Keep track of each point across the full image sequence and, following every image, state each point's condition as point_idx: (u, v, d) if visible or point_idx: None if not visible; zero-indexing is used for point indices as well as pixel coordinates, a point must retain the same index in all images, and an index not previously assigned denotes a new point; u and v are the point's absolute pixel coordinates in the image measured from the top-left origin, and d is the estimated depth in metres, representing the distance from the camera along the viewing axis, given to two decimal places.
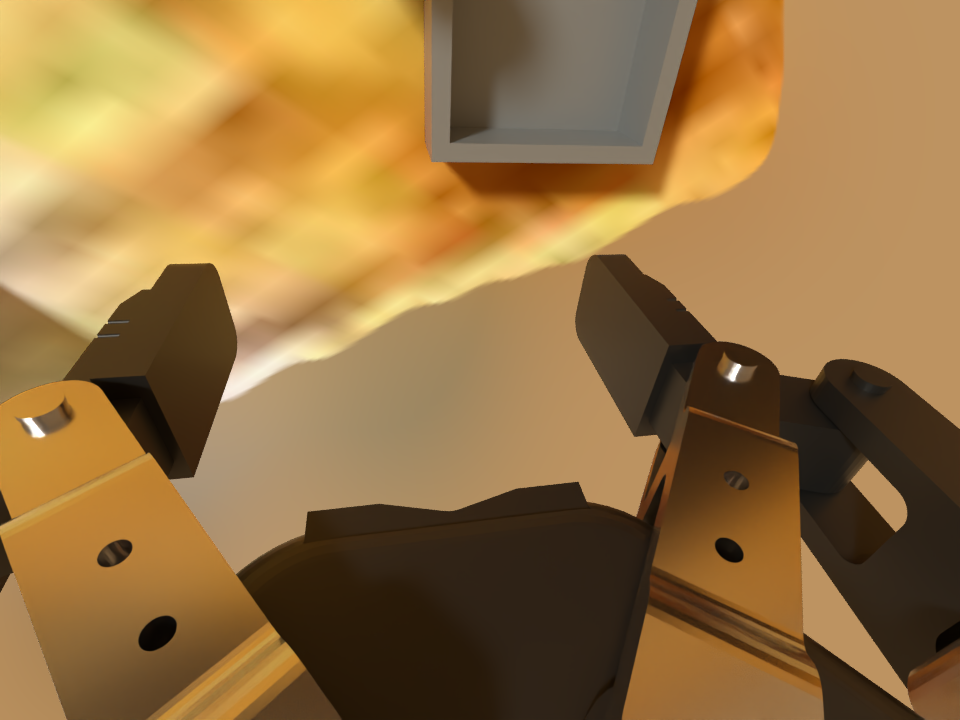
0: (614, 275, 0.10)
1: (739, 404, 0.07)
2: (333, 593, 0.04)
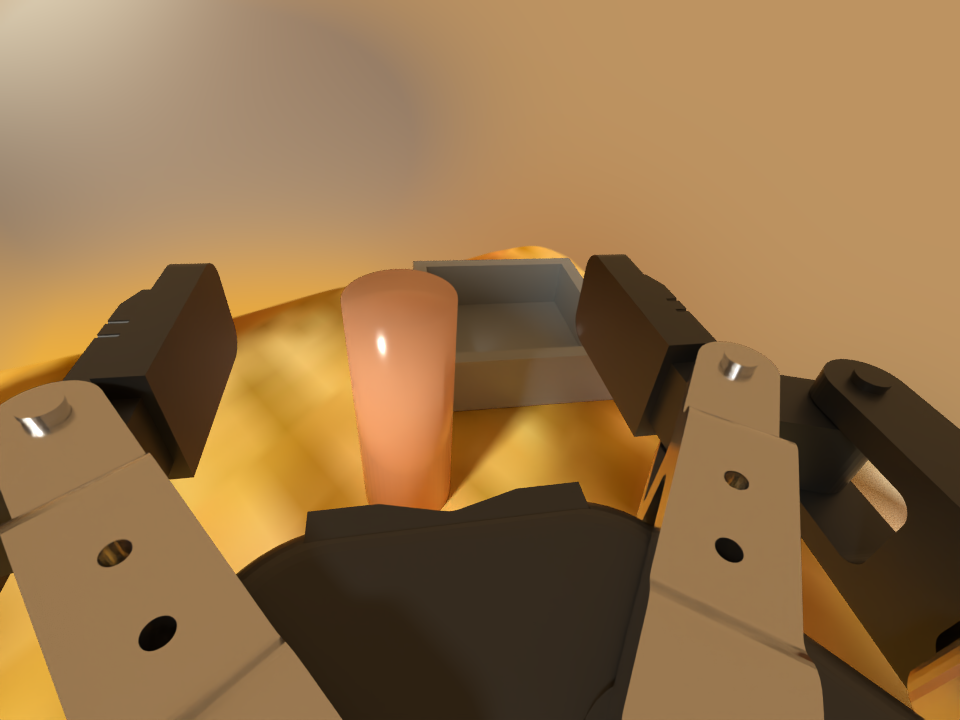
0: (614, 275, 0.10)
1: (739, 404, 0.07)
2: (333, 593, 0.04)
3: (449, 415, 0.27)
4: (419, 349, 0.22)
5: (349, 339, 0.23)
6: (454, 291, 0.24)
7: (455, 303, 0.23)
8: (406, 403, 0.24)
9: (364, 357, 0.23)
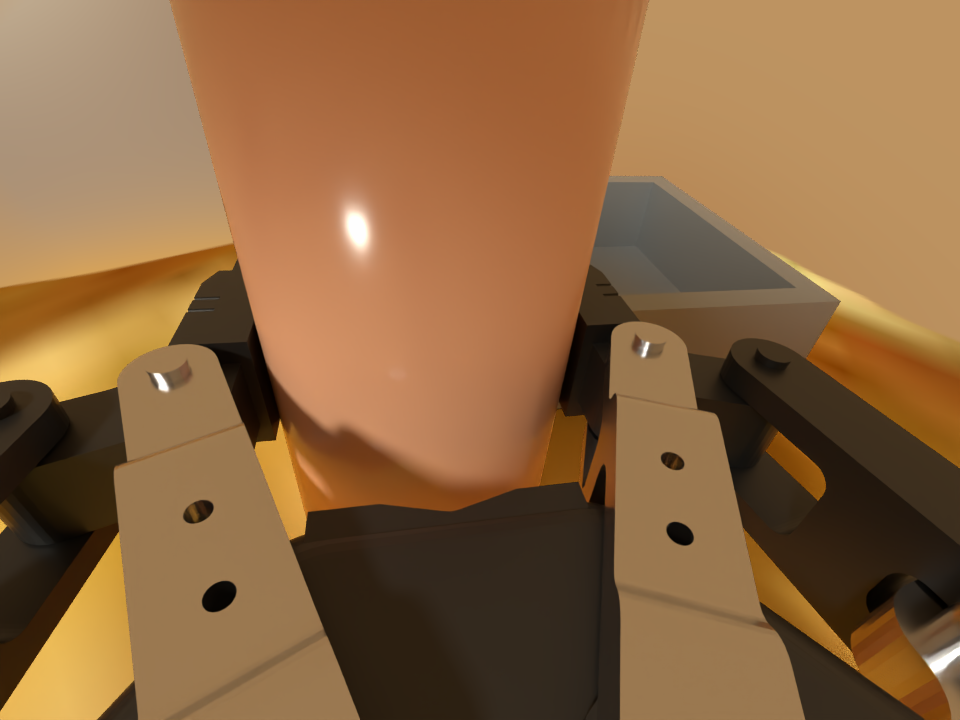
0: None
1: (640, 378, 0.07)
2: (333, 593, 0.04)
3: (553, 421, 0.09)
4: (519, 98, 0.05)
5: (198, 87, 0.05)
6: None
7: None
8: (441, 378, 0.06)
9: (256, 156, 0.05)
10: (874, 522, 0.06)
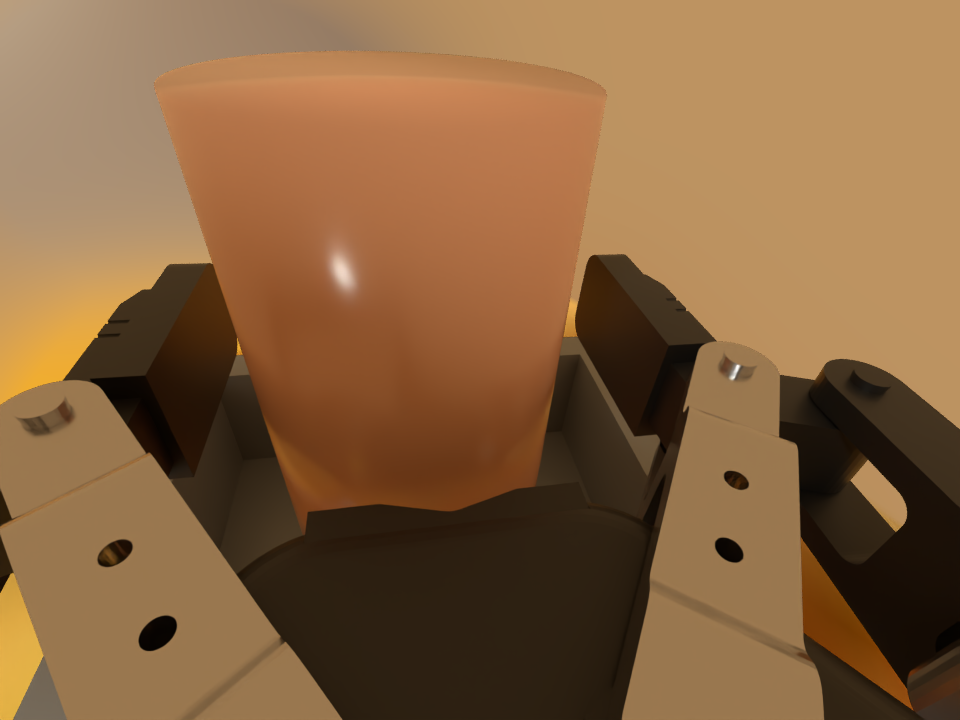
0: (614, 275, 0.10)
1: (738, 404, 0.07)
2: (333, 593, 0.04)
3: (537, 474, 0.10)
4: (478, 247, 0.05)
5: (203, 227, 0.06)
6: (578, 77, 0.07)
7: (599, 90, 0.06)
8: (424, 461, 0.07)
9: (254, 290, 0.06)
10: (955, 560, 0.06)
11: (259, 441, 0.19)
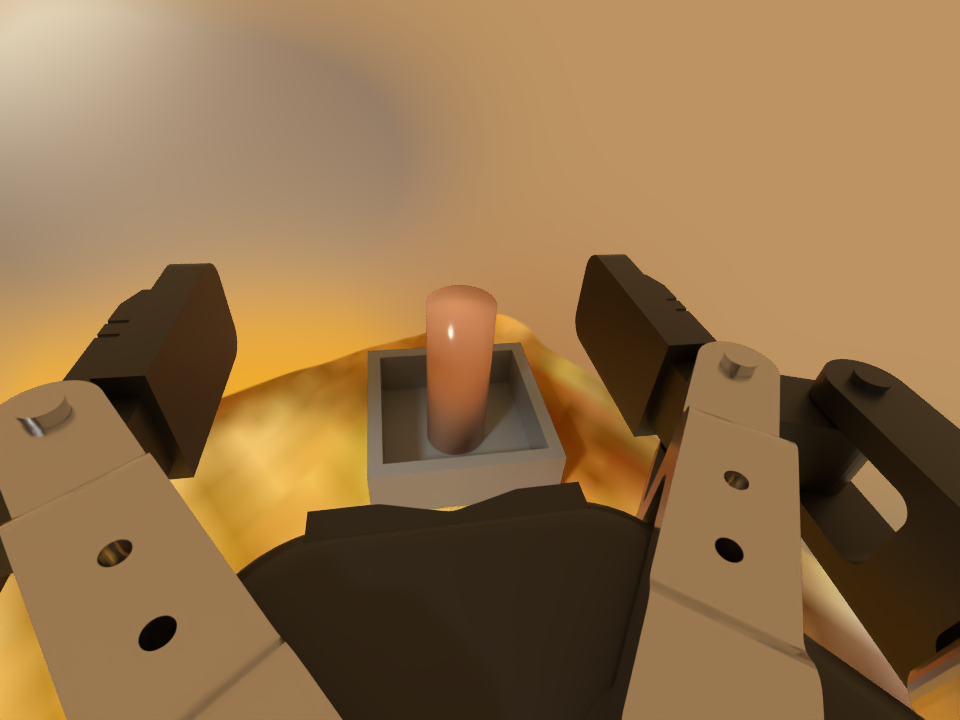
0: (614, 275, 0.10)
1: (739, 404, 0.07)
2: (333, 593, 0.04)
3: (488, 379, 0.42)
4: (475, 334, 0.37)
5: (432, 329, 0.38)
6: (494, 299, 0.39)
7: (495, 307, 0.38)
8: (464, 369, 0.39)
9: (441, 339, 0.37)
10: (955, 560, 0.06)
11: (390, 383, 0.51)
